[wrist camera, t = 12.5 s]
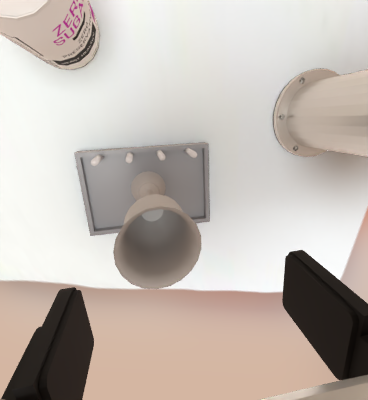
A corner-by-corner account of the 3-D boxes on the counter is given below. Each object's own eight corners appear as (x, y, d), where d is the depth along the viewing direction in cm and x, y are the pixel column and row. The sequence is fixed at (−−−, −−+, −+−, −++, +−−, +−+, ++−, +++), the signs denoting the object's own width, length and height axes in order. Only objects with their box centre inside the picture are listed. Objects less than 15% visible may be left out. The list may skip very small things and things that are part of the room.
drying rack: (204, 142, 36) (217, 146, 31) (206, 216, 40) (217, 232, 34) (77, 151, 33) (65, 157, 28) (92, 230, 37) (85, 249, 32)
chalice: (133, 156, 34) (131, 194, 17) (178, 172, 36) (215, 220, 19) (118, 203, 36) (101, 279, 19) (161, 216, 38) (181, 296, 21)
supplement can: (20, -15, 27) (-106, -158, 13) (98, -4, 29) (60, -123, 15) (31, 67, 30) (-64, 20, 16) (102, 72, 31) (73, 34, 17)
